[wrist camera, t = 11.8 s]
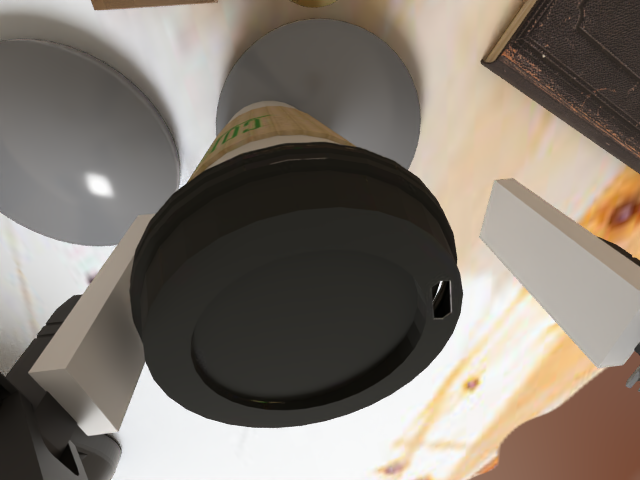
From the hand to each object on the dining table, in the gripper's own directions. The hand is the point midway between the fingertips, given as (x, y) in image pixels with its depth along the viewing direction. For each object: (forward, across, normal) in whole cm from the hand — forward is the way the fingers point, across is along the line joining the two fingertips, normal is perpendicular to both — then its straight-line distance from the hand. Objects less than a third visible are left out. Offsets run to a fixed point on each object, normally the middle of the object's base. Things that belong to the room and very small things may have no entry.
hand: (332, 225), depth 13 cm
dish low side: (+11, +1, 0) cm, 11 cm away
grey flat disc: (+11, -15, 0) cm, 19 cm away
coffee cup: (+10, -3, 0) cm, 10 cm away
